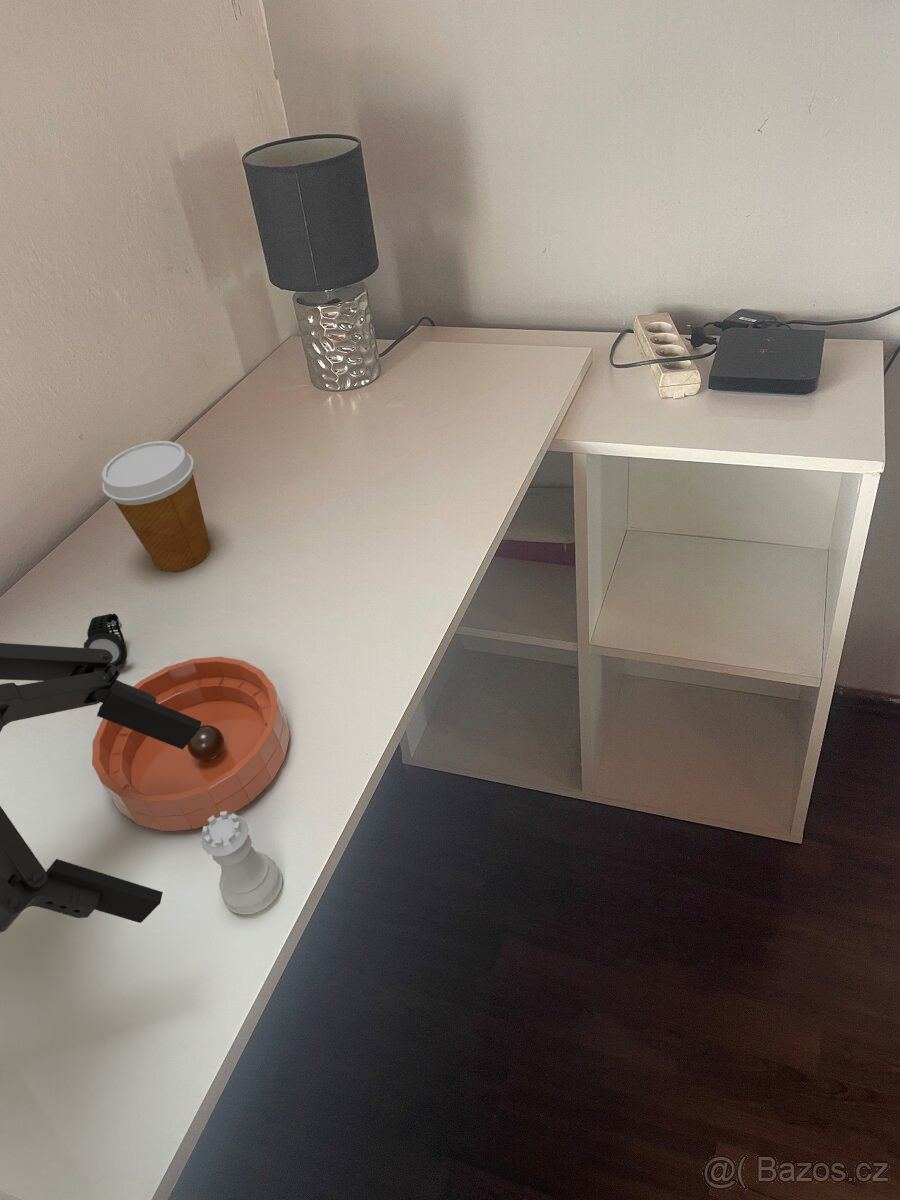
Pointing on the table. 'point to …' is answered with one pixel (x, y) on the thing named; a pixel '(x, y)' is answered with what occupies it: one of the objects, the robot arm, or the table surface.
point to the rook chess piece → (240, 865)
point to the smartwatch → (107, 637)
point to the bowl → (171, 775)
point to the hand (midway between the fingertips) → (174, 814)
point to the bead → (206, 743)
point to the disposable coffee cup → (160, 502)
